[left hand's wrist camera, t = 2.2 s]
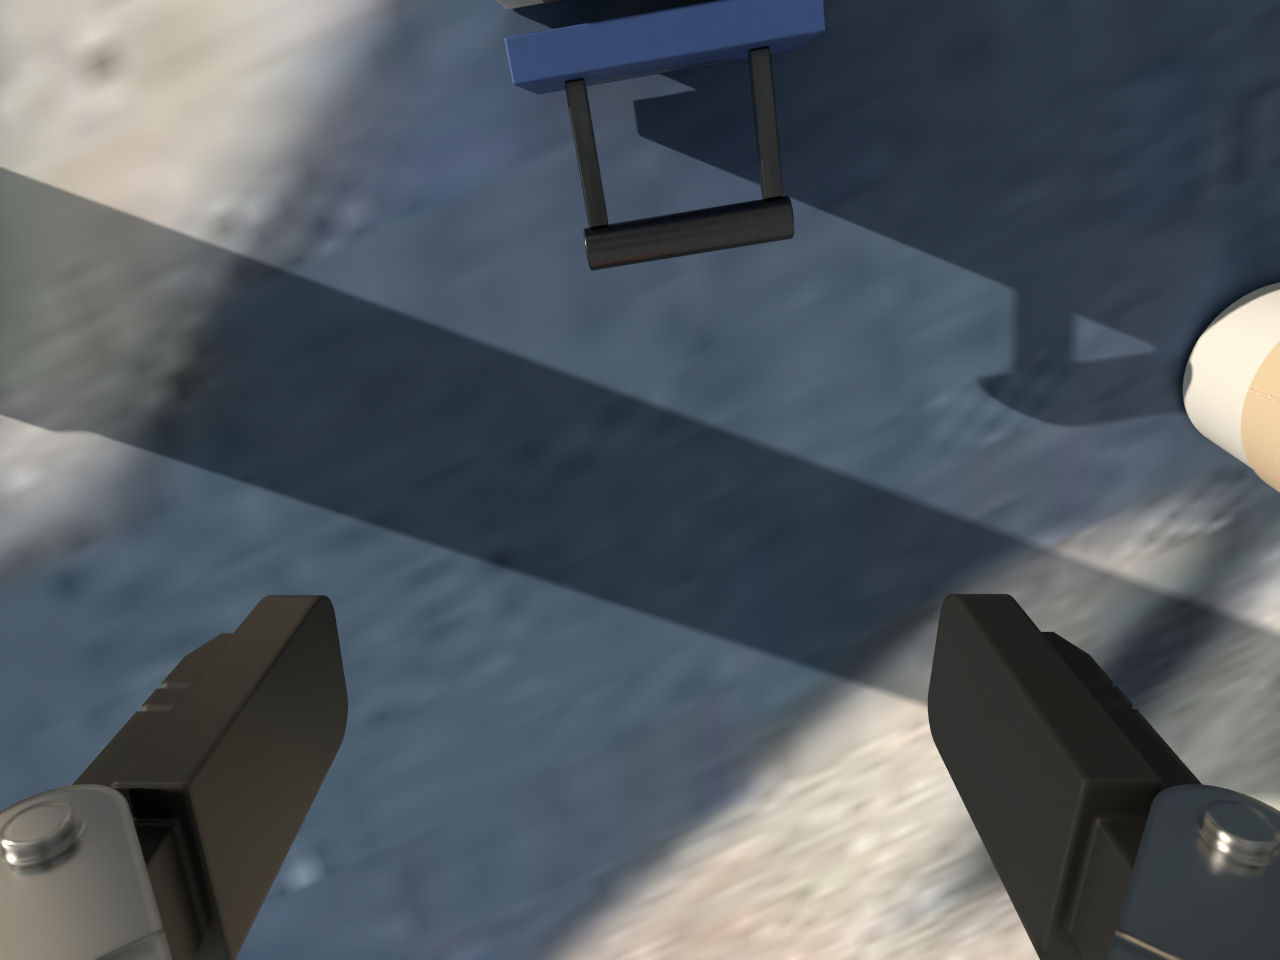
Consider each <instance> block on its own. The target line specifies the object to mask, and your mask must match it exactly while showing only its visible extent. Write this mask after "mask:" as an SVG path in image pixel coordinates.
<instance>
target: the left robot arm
mask: <svg viewBox="0 0 1280 960" xmlns="http://www.w3.org/2000/svg"><path fill="white" fill-rule="evenodd" d="M1112 682H1113V681H1112V680H1111V679H1110V678H1109V677H1108V676H1107V674H1106V673H1105V672H1104V671H1103V670H1102V669H1101V668H1100V666H1099V665H1098V664H1097V663H1096V662H1095V661H1094V660H1093V658H1092V657H1091V656H1090V655H1089V654H1087V653H1086V652H1084V651H1083V650H1081V649H1079V648H1078V647H1076V646H1075V645H1073V644H1072V643H1070V642H1068V641H1067V640H1065V639H1064V638H1062V637H1060V636H1059V635H1057V634H1056V633H1054V632H1041V631H1040V630H1039V629H1038V628H1037V626H1036V625H1035V624H1034V623H1033V621H1032V620H1031V619H1030V618H1029V617H1028V615H1027V614H1026V613H1025V612H1024V610H1023V609H1022V608H1021V607H1020V605H1019V604H1018V603H1017V602H1016V601H1015V599H1014V598H1013V597H1012V596H1010V595H1008V594H950V595H948V596H947V597H946V598H945V600H944V602H943V604H942V608H941V613H940V619H939V626H938V633H937V639H936V646H935V653H934V659H933V666H932V673H931V679H930V686H929V693H928V717H929V724H930V729H931V733H932V737H933V740H934V742H935V745H936V747H937V749H938V751H939V753H940V755H941V757H942V759H943V761H944V763H945V765H946V768H947V770H948V772H949V774H950V776H951V778H952V780H953V782H954V784H955V786H956V788H957V790H958V792H959V794H960V796H961V798H962V800H963V802H964V804H965V807H966V809H967V811H968V813H969V815H970V817H971V819H972V821H973V823H974V825H975V827H976V829H977V831H978V833H979V835H980V837H981V839H982V841H983V844H984V846H985V848H986V850H987V852H988V854H989V856H990V858H991V860H992V862H993V864H994V866H995V868H996V870H997V872H998V874H999V876H1000V878H1001V880H1002V883H1003V885H1004V887H1005V889H1006V891H1007V893H1008V895H1009V897H1010V899H1011V901H1012V903H1013V905H1014V907H1015V909H1016V911H1017V913H1018V915H1019V917H1020V920H1021V922H1022V924H1023V926H1024V928H1025V930H1026V932H1027V934H1028V936H1029V938H1030V940H1031V942H1032V944H1033V946H1034V948H1035V950H1036V952H1037V954H1038V956H1039V959H1040V960H1280V811H1278V810H1276V809H1275V808H1273V807H1271V806H1269V805H1267V804H1265V803H1263V802H1261V801H1259V800H1257V799H1254V798H1252V797H1249V796H1247V795H1244V794H1241V793H1238V792H1235V791H1232V790H1229V789H1224V788H1220V787H1216V786H1209V785H1202V784H1201V783H1200V781H1199V780H1198V779H1197V778H1196V777H1195V776H1194V775H1193V773H1192V772H1191V771H1190V770H1189V769H1188V768H1187V767H1186V765H1185V764H1184V763H1183V762H1182V761H1181V760H1180V758H1179V757H1178V756H1177V755H1176V754H1175V753H1174V752H1173V750H1172V749H1171V748H1170V747H1169V746H1168V745H1167V743H1166V742H1165V741H1164V740H1163V739H1162V738H1161V737H1160V735H1159V734H1158V733H1157V732H1156V731H1155V730H1154V729H1153V727H1152V726H1151V725H1150V724H1149V723H1148V722H1147V720H1146V719H1145V718H1144V717H1143V716H1142V715H1141V714H1140V712H1139V711H1138V710H1133V709H1132V703H1131V702H1130V701H1129V700H1128V699H1127V697H1126V696H1125V695H1124V694H1123V693H1122V692H1121V691H1120V689H1119V688H1118V687H1113V684H1112ZM347 713H348V698H347V690H346V684H345V677H344V671H343V664H342V657H341V651H340V644H339V638H338V631H337V625H336V618H335V612H334V608H333V605H332V603H331V601H330V599H329V598H328V597H327V596H324V595H269V596H266V597H264V598H263V599H262V600H261V601H260V602H259V603H258V604H257V605H256V607H255V608H254V609H253V610H252V612H251V613H250V614H249V615H248V616H247V618H246V619H245V620H244V621H243V623H242V624H241V625H240V626H239V627H238V629H237V630H236V631H235V632H234V634H220V635H218V636H217V637H215V638H214V639H212V640H210V641H209V642H207V643H206V644H204V645H202V646H201V647H199V648H198V649H196V650H195V651H193V652H191V653H190V654H188V655H187V656H185V657H184V658H183V659H182V661H181V662H180V663H179V664H178V665H177V666H176V667H175V669H174V670H173V671H172V672H171V673H170V674H169V675H168V677H167V678H166V679H165V680H164V681H163V682H162V687H161V689H156V690H155V691H154V692H153V694H152V695H151V696H150V697H149V698H148V699H147V700H146V702H145V703H144V704H143V705H142V710H141V712H136V713H135V714H134V715H133V716H132V718H131V719H130V720H129V721H128V722H127V723H126V724H125V726H124V727H123V728H122V729H121V730H120V731H119V732H118V733H117V735H116V736H115V737H114V738H113V739H112V740H111V741H110V743H109V744H108V745H107V746H106V747H105V748H104V749H103V751H102V752H101V753H100V754H99V755H98V756H97V757H96V759H95V760H94V761H93V762H92V763H91V764H90V765H89V767H88V768H87V769H86V770H85V771H84V772H83V773H82V775H81V776H80V777H79V778H78V779H77V780H76V781H75V783H74V784H73V785H71V786H64V787H60V788H56V789H51V790H48V791H45V792H42V793H39V794H36V795H33V796H31V797H28V798H26V799H23V800H21V801H19V802H17V803H15V804H13V805H11V806H9V807H7V808H5V809H4V810H2V811H0V960H235V959H236V957H237V955H238V953H239V951H240V949H241V947H242V945H243V942H244V940H245V938H246V936H247V934H248V932H249V930H250V928H251V926H252V924H253V922H254V920H255V918H256V916H257V914H258V912H259V910H260V908H261V906H262V904H263V902H264V900H265V898H266V896H267V894H268V892H269V890H270V888H271V886H272V884H273V882H274V880H275V878H276V876H277V873H278V871H279V869H280V867H281V865H282V863H283V861H284V859H285V857H286V855H287V853H288V851H289V849H290V847H291V845H292V843H293V841H294V839H295V837H296V835H297V833H298V831H299V829H300V827H301V825H302V823H303V821H304V819H305V817H306V815H307V813H308V811H309V809H310V807H311V805H312V802H313V800H314V798H315V796H316V794H317V792H318V790H319V788H320V786H321V784H322V782H323V780H324V778H325V776H326V774H327V772H328V770H329V768H330V766H331V764H332V762H333V760H334V758H335V756H336V754H337V752H338V750H339V748H340V745H341V743H342V740H343V737H344V733H345V729H346V723H347Z"/></svg>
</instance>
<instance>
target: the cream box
mask: <svg viewBox="0 0 1280 960" xmlns="http://www.w3.org/2000/svg"><path fill="white" fill-rule="evenodd" d="M497 1H498V2H499V3H500V4H501V5H502V6H504V7H505V8H506V9H513V8H519V7H525V6H530V5H536V4H541V3H544V2H543V1H542V0H497Z"/></svg>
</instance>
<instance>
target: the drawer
mask: <svg viewBox="0 0 1280 960" xmlns="http://www.w3.org/2000/svg"><path fill="white" fill-rule="evenodd" d="M542 1H543V2H544V3H545V4H546V3H552V2H557V1H563V0H542ZM825 31H826V15H825V0H715V1H709V2H704V3H698V4H692V5H687V6H681V7H675V8H670V9H664V10H658V11H653V12H647V13H641V14H636V15H630V16H624V17H619V18H613V19H607V20H601V21H596V22H590V23H584V24H579V25H573V26H567V27H562V28H556V29H550V30H545V31H539V32H533V33H528V34H522V35H516V36H511V37H506V38H505V45H506V51H507V56H508V61H509V66H510V71H511V77H512V82H513V84H514V85H516V86H518V87H521V88H523V89H526V90H528V91H531V92H533V93H536V94H544V93H550V92H555V91H561V90H566V95H567V101H568V107H569V112H570V118H571V124H572V130H573V136H574V141H575V147H576V153H577V159H578V165H579V171H580V176H581V182H582V188H583V194H584V200H585V205H586V211H587V217H588V223H589V227H590V228H585V229H584V241H585V248H586V254H587V259H588V263H589V267H590V269H591V270H599V269H605V268H611V267H617V266H624V265H630V264H636V263H642V262H649V261H655V260H661V259H667V258H674V257H680V256H686V255H692V254H699V253H705V252H711V251H717V250H723V249H730V248H736V247H742V246H748V245H755V244H761V243H767V242H773V241H780V240H786V239H791V238H793V235H794V217H793V209H792V204H791V200H790V198H789V196H787V195H786V196H783V188H782V177H781V165H780V154H779V143H778V132H777V120H776V109H775V98H774V87H773V75H772V64H771V54H776V53H782V52H788V51H790V50H792V49H793V48H795V47H797V46H799V45H801V44H803V43H804V42H806V41H808V40H810V39H812V38H814V37H815V36H817V35H819V34H821V33H823V32H825ZM747 58H748V61H749V71H750V81H751V91H752V101H753V112H754V122H755V132H756V142H757V153H758V163H759V173H760V183H761V193H762V198H764V199H761V200H755V201H749V202H743V203H737V204H731V205H725V206H718V207H712V208H706V209H700V210H694V211H688V212H682V213H675V214H669V215H663V216H657V217H651V218H645V219H639V220H633V221H626V222H620V223H614V224H608V216H607V210H606V204H605V198H604V192H603V186H602V180H601V174H600V167H599V161H598V155H597V149H596V143H595V137H594V131H593V125H592V119H591V112H590V106H589V100H588V94H587V88H586V86H590V85H596V84H602V83H608V82H613V81H619V80H625V79H631V78H637V77H642V76H648V75H654V74H660V73H666V72H671V71H677V70H683V69H689V68H695V67H701V66H706V65H712V64H718V63H724V62H730V61H735V60H741V59H747ZM607 224H608V225H607Z"/></svg>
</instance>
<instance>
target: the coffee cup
mask: <svg viewBox="0 0 1280 960" xmlns="http://www.w3.org/2000/svg"><path fill="white" fill-rule="evenodd" d="M1183 398H1184V404H1185V408H1186V411H1187V414H1188V416H1189V418H1190V420H1191V422H1192V423H1193V425H1194V426H1195V427H1196V428H1197V429H1198V431H1199V432H1200V433H1202V434H1203V435H1204V436H1205V437H1207V438H1208V439H1209V440H1211V441H1212V442H1214V443H1215V444H1217V445H1218V446H1220V447H1221V448H1223V449H1224V450H1226V451H1227V452H1229V453H1230V454H1232V455H1233V456H1235V457H1236V458H1238V459H1239V460H1240V461H1242V462H1243V463H1245V464H1246V465H1248V466H1249V467H1251V468H1252V469H1253V470H1254V471H1255V472H1256V473H1257V475H1258V476H1259V477H1260V478H1261V479H1262V480H1263V481H1265V482H1266V483H1267V484H1268V485H1270V486H1271V487H1273V488H1274V489H1276V490H1277V491H1279V492H1280V283H1275V284H1272V285H1268V286H1265V287H1262V288H1260V289H1258V290H1255V291H1253V292H1251V293H1249V294H1247V295H1245V296H1244V297H1242V298H1240V299H1239V300H1237V301H1236V302H1234V303H1233V304H1231V305H1230V306H1229V307H1227V308H1226V309H1225V310H1224V311H1223V312H1222V313H1220V314H1219V315H1218V316H1217V317H1216V318H1215V319H1214V320H1213V321H1212V323H1211V324H1210V325H1209V326H1208V327H1207V328H1206V330H1205V331H1204V332H1203V334H1202V335H1201V337H1200V338H1199V340H1198V341H1197V343H1196V345H1195V347H1194V349H1193V351H1192V353H1191V355H1190V357H1189V360H1188V363H1187V366H1186V369H1185V374H1184V380H1183Z"/></svg>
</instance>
